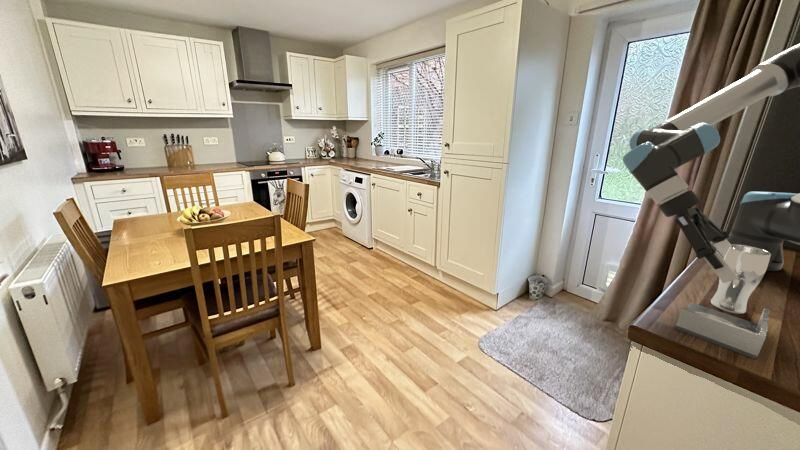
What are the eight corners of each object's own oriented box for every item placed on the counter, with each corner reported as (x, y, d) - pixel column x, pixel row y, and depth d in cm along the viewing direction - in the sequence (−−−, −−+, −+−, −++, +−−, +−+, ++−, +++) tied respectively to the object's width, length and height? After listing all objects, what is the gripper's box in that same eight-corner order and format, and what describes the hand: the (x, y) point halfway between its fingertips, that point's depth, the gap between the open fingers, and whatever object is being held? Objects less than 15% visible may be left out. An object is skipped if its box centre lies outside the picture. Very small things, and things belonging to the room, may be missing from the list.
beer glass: (700, 298, 80) (720, 243, 76) (728, 299, 80) (750, 244, 76) (726, 314, 74) (749, 255, 69) (756, 315, 74) (782, 256, 69)
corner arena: (689, 304, 77) (695, 287, 76) (761, 329, 69) (770, 309, 67) (674, 328, 68) (681, 308, 67) (755, 359, 59) (765, 338, 58)
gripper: (669, 199, 91) (723, 264, 85) (643, 212, 76) (706, 294, 70) (700, 183, 86) (760, 253, 79) (678, 194, 70) (750, 281, 64)
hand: (735, 272), depth 74 cm, fingers open, 13 cm apart
